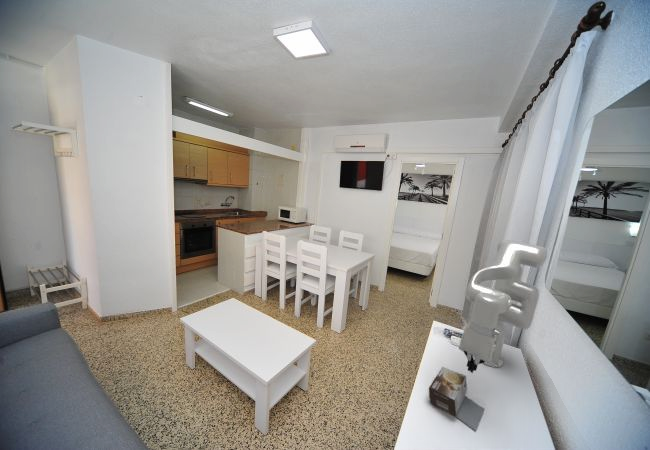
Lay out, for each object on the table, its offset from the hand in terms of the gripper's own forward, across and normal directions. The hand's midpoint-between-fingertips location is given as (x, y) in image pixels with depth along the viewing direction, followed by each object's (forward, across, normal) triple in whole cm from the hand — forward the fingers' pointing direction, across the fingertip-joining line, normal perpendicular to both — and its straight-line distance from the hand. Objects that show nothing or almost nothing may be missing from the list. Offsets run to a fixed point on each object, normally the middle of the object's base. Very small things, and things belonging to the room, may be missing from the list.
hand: (470, 369), depth 85 cm
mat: (+14, 0, +4) cm, 15 cm away
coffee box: (+10, +5, -4) cm, 12 cm away
